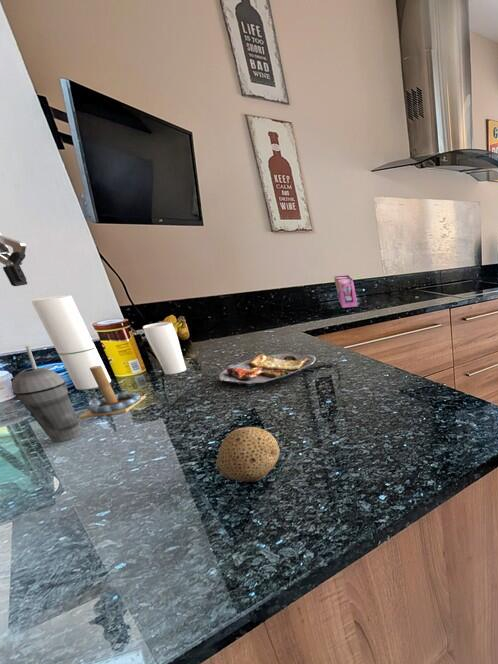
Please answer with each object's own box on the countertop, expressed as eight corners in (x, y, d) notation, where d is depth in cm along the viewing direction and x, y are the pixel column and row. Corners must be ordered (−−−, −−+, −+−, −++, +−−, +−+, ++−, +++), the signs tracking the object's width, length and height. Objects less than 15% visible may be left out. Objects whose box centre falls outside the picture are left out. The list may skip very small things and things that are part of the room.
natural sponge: (295, 478, 68) (280, 428, 64) (236, 505, 62) (216, 452, 58) (276, 459, 74) (260, 412, 70) (220, 482, 67) (200, 432, 64)
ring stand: (80, 420, 91) (57, 376, 87) (104, 404, 99) (84, 363, 94) (127, 414, 93) (107, 370, 89) (147, 399, 101) (129, 358, 97)
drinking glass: (156, 376, 117) (135, 327, 111) (178, 368, 123) (160, 321, 117) (173, 377, 115) (154, 328, 109) (195, 369, 121) (178, 322, 115)
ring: (80, 416, 90) (77, 410, 90) (104, 400, 99) (102, 395, 98) (129, 409, 93) (126, 404, 92) (148, 394, 101) (146, 389, 100)
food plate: (201, 384, 110) (196, 372, 109) (270, 357, 130) (267, 347, 129) (270, 392, 103) (266, 380, 102) (332, 363, 123) (329, 352, 122)
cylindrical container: (113, 379, 115) (73, 294, 105) (111, 386, 110) (68, 297, 100) (79, 386, 111) (34, 297, 101) (75, 393, 106) (27, 301, 96)
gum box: (358, 306, 203) (353, 280, 198) (342, 308, 200) (336, 281, 195) (353, 299, 223) (348, 275, 218) (338, 301, 220) (333, 276, 214)
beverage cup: (44, 437, 84) (-8, 348, 76) (91, 424, 89) (47, 340, 81) (40, 449, 80) (-15, 356, 72) (90, 435, 84) (43, 347, 76)
